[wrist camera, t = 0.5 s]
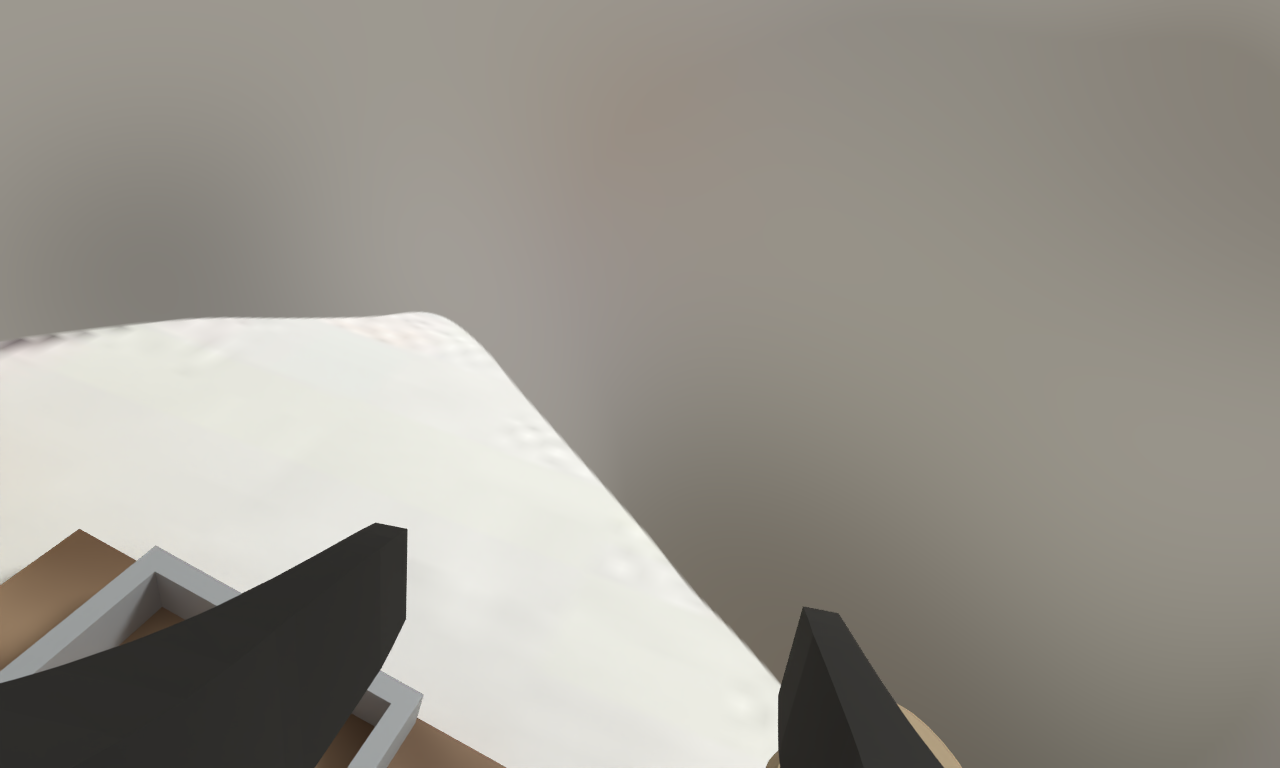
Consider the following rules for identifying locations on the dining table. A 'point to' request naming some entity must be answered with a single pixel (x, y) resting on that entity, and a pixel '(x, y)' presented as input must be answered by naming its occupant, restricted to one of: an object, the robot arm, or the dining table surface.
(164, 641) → the robot arm
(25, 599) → the board
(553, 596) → the dining table surface
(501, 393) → the dining table surface
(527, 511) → the dining table surface
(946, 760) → the handle
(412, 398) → the dining table surface
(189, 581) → the gray rectangular frame
